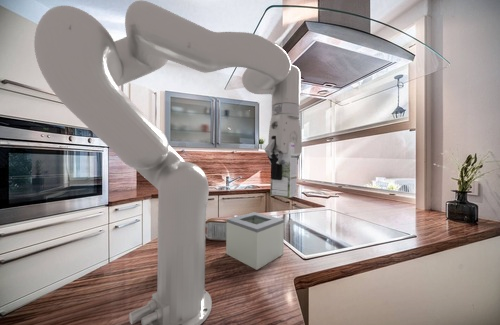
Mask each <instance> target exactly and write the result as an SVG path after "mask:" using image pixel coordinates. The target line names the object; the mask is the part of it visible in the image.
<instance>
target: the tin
mask: <svg viewBox="0 0 500 325" xmlns="http://www.w3.org/2000/svg"><path fill="white" fill-rule="evenodd" d="M227 219H228V218H214V217H213V218H211V217H210V218H208V219H207V220H206V225H205V239H206V240H208V241H218V242H219V241H220V242H226V236H227Z"/></svg>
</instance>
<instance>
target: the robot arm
mask: <svg viewBox="0 0 500 325" xmlns="http://www.w3.org/2000/svg"><path fill="white" fill-rule="evenodd" d="M124 18H125V20H124V27H125V28H124V29H125V33H126V36H125V37H123V38H120V39H118V40H114V38H113V37H112V35H111V34H110V32H109V31H108V30H107V29H106V28H105V26H103V25H104V24H102V23H101V22H100V21H99V20H97V19H96V18H95V17H94V16H92V15H91V14H89V13H88V12H86V11H85V10H83V9H80V8H78V7H75V6H71V5H57V6H54V7H52V8H50V9H49V10H47V11H46V12H45V13H44V14H43V15H42V16H41V18H40V19H39V21H38V22H37V23H38V24H37V25H36V26H37V27H36V29H35V32H34V40H33V41H34V42H33V43H34V45H33V46H34V53H35V58H36V62H37V64H38V68H39V69H40V72H41V74H42V76H43V78H44V80H45V82H46V83H47V84H48V86H49V88H50V89H51V91H52V92H53V93H54V94H55V96H56V97H57V98H58V99H59V101H60V102H61V103H62V104H63V105H64V106H65V107H66V108H67V109H68V110H69V111H70V112H71V113H72V114H73V115H74V116H75V117H76V118H78V119H79V120H80V122H82V123H83V124H84V125H85V126H86V127H87V129H89V130H90V131H91V133H93V134H94V135H95V136H96V137H97V138H98V139H100V140H101V141H102V142H103V143H104V144H105V145H106V146H108V147H109V149H110V150H112V152H113V153H114V154H115V155H116V156H118V158H119V160H121V161H122V162H123V163H124V164H125V165H126V166H128V167H130V168H133V169H134V170H135V171H136V172H137V173H139V174H140V175H141V176H142V177H144V179H145V180H146V181H148V182H149V183H150V184H151V185H152V186H153V187H155V189H156V190H158V191H157V192H158V195H157V198H158V200H157V201H158V205H157V206H158V210H157V268H156V269H157V275H156V277H157V279H156V281H157V283H156V284H157V285H156V288H157V289H156V292H154V293H152V294H151V300H150V301H148V302H147V303H146V305H144V306H142V307H139V308H137V309H135V310H133V311H131V312H129V314H128V315H129V316H128V319H129V324H130V325H133V324H136V323H138V322H140V323H141V325H202V324H203V323H204V322H205V321H206V320H207V318H208V317H209V316H210V313H211V312H212V311H211V310H212V306H213V304H212V302H213V301H212V300H213V299H212V296H211V294H210V293H209V292H208V291H206V290H205V288H206V287H205V286H206V285H205V284H206V280H205V278H206V275H205V274H206V238H205V225H206V221H207V220H206V219H207V208H208V201H209V195H210V193H209V192H210V189H209V187H210V186H209V185H210V184H209V181H208V177H207V175H206V173H205V172H204V170H203V169H202V167H200V166H198V164H196V163H193V162H190V161H185V159H184V158H183V157H182V156H180V154H179V153H178V152H177V151H176V150H175V149H174V148H173V147H172V146H171V145H170V143H169V140H168V138H167V135H166V134H165V132H164V131H162V130H161V129H160V128H159V127H158V126H157V125H156V124H154V122H152V120H150V118H148V117H147V116H146V115H145V114H144V112H142V111H141V109H139V107H137V106H136V105H135V104H134V103H133V101H132V100H131V99H130V98H129V97H128V96H127V95H126V93H125V92H123V90H122V89H121V88H120V87H121V86H123V85H126V84H127V83H130V82H132V81H135V80H137V79H139V78H140V79H141V78H143V77H145V76H146V75H149V74H151V73H153V72H156V71H157V70H159V69H162V67H164V66H165V65H166V64H167V62H168V61H171V62H173V63H176V64H178V65H182V66H185V67H187V68H189V69H192V70H195V71H197V72H200V73H204V74H205V73H206V74H207V73H213V72H217V71H221V70H224V69H230V68H244V69H245V70H244V72H243V73H242V78H241V79H242V84H243V85H242V86H243V87H244V89H245V90H246V91H247V92H249V93H251V94H254V95H271V117H270V122H269V130H268V142H267V145H266V146H265V147H264V152H265V153H266V155H267V159H268V160H269V164H270V180H271V179H273V180H282V165H280V163H281V160H282V156H283V154H288V143H289V142H294V145H295V146H294V153H295V154H296V155H298V156H297V165H298V164H299V163H298V162H299V159H300V155H302V147H303V145H302V143H303V142H302V139H303V138H302V127H301V121H300V104H301V103H300V100H301V98H300V96H301V95H300V94H301V71H300V69H299V67H297V66H296V65H293V64H291V63H292V62H291V60H290V57H289V55H288V54H287V52H286V51H285V50H284V49H283V48H282V47H281V46H279V45H278V44H276V43H275V42H273V41H271V40H269V39H266V38H265V37H263V36H261V35H258V34H256V33H251V32H245V31H213V30H209V29H208V28H205V27H203V26H202V25H200V24H198V23H195V22H193V21H191V20H189V19H187V18H185V17H182V16H180V15H178V14H177V13H175V12H172V11H169V10H168V9H167V8H163V7H161V6H159V5H157V4H154V3H153V2H150V1H147V0H135V1H133V2H132V3H131V4H130V5H129V6H128V8H127V10H126V12H125V17H124ZM275 150H277V151H280V152H275ZM276 156H278V158H277V157H276Z"/></svg>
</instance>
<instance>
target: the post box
mask: <svg viewBox="0 0 500 325" xmlns="http://www.w3.org/2000/svg"><path fill="white" fill-rule="evenodd" d="M226 219H227V236H226V241H225V243H226V245H225V246H226V247H225V250H226V251H225V253H226V255H227V256H229V257H231V258H233V259H235V260H236V261H239V262H241V263H242V264H244V265H246V266H248V267H250V268H252V269H255V270H256V271H257V270H259V269H261V268H262V267H264V266H266V265H267V264H269V263H271V262H273V261H274V260H276V259H277V258H279V257H281V256H282V255H284V246H285V244H284V242H285V240H284V237H285V235H284V233H285V219H283V218H279V217H275V216H271V215H267V214H264V213H260V212H256V211H253V212H249V213H246V214H245V213H244V214H240V215H238V216H234V217H229V218H226Z"/></svg>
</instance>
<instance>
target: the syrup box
mask: <svg viewBox="0 0 500 325" xmlns="http://www.w3.org/2000/svg"><path fill="white" fill-rule="evenodd" d="M294 146H295V145H294V142H289V143H288V154H283V156H282V160H281V163H280V165H282V180H273V179H271V178H270V190H269V191H270V193H269V194H270V195H269V196H273V197H282V198H288V199H289V198H294V197H295V196H297V193H298V189H297V188H298V185H297V184H298V182H297V180H298V164H297V156H298V155H296V154H295V153H294ZM275 152H280V151H277V150H275ZM276 157H277V158H278V156H276Z"/></svg>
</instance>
